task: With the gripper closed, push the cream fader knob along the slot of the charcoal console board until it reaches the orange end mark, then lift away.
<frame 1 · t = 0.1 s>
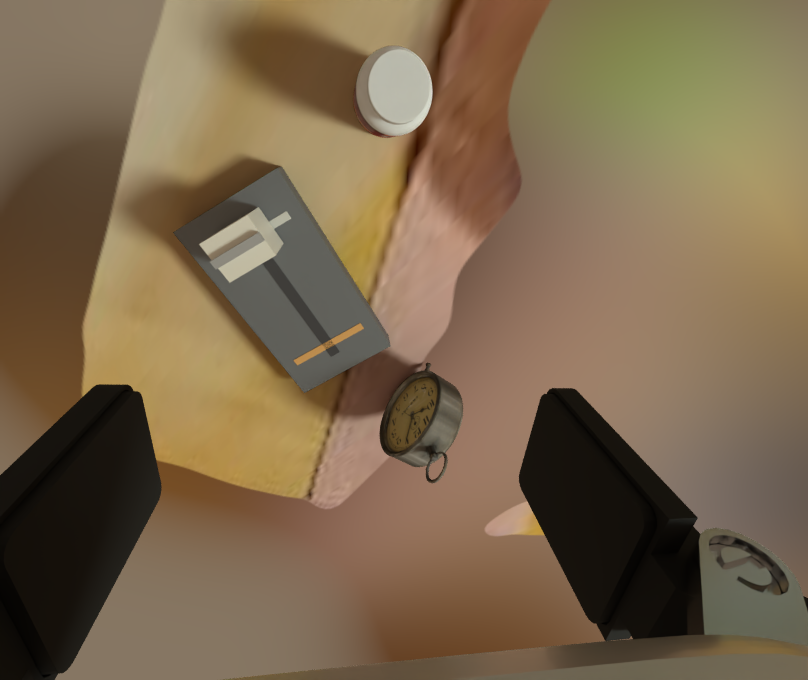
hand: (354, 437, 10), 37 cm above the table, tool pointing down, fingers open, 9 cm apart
fader knob: (243, 244, 37), point 6 cm above the table, slide at 0.0 cm
pill bottle: (385, 102, 39), on the table
alarm clock: (413, 389, 54), on the table
fader console: (295, 286, 46), on the table
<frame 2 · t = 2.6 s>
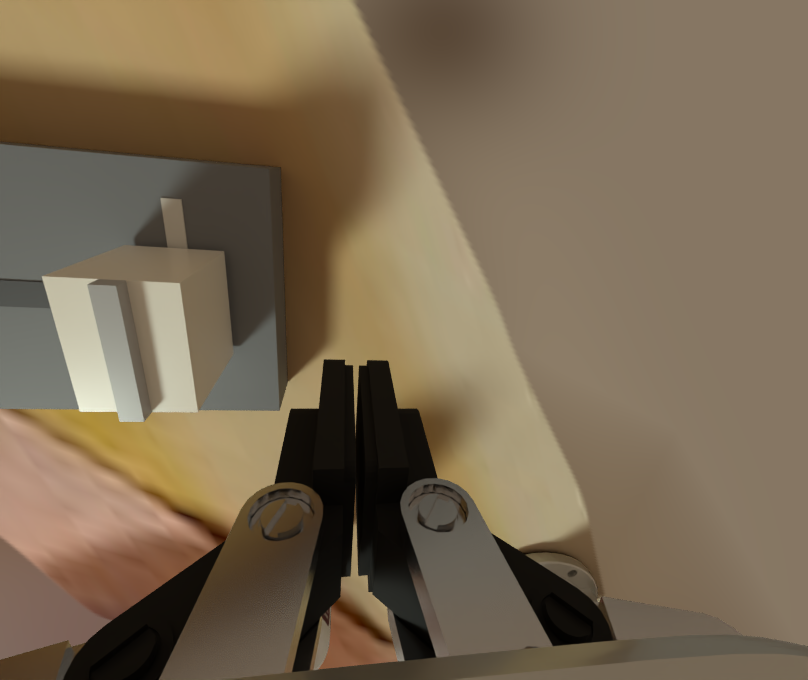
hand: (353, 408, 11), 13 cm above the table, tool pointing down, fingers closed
fader knob: (155, 326, 16), point 6 cm above the table, slide at 0.0 cm
pill bottle: (292, 523, 29), on the table
fader console: (59, 275, 20), on the table
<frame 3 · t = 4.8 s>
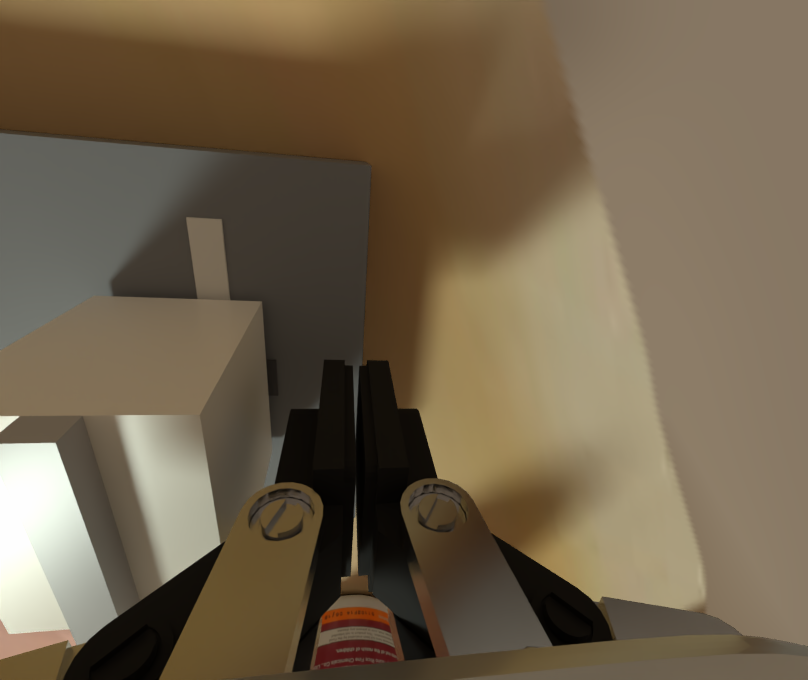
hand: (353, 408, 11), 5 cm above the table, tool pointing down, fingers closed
fader knob: (150, 449, 9), point 6 cm above the table, slide at 0.7 cm, touching gripper
pill bottle: (347, 620, 23), on the table
fader console: (26, 329, 13), on the table
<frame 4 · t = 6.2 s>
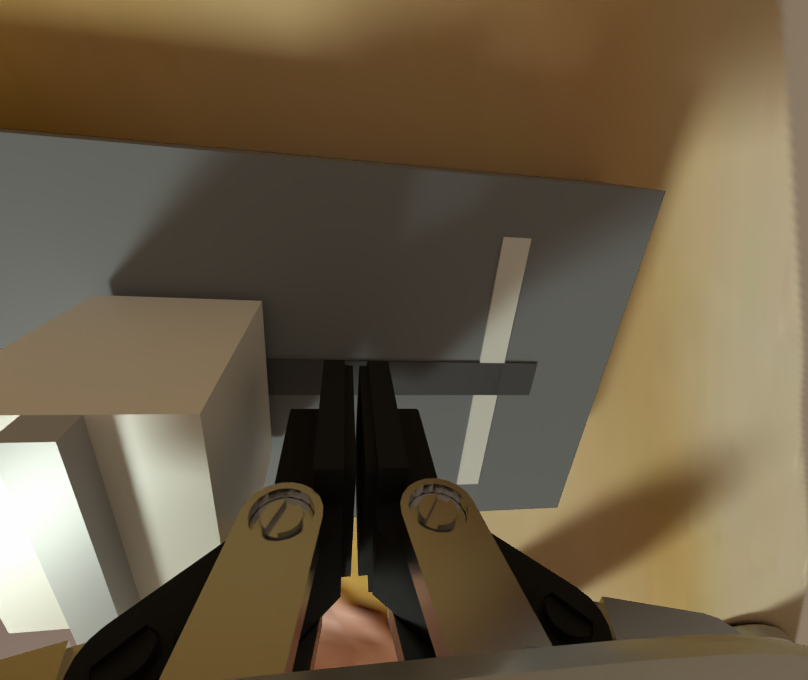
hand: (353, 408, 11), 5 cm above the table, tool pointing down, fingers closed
fader knob: (150, 448, 9), point 6 cm above the table, slide at 8.8 cm, touching gripper
fader console: (277, 334, 14), on the table
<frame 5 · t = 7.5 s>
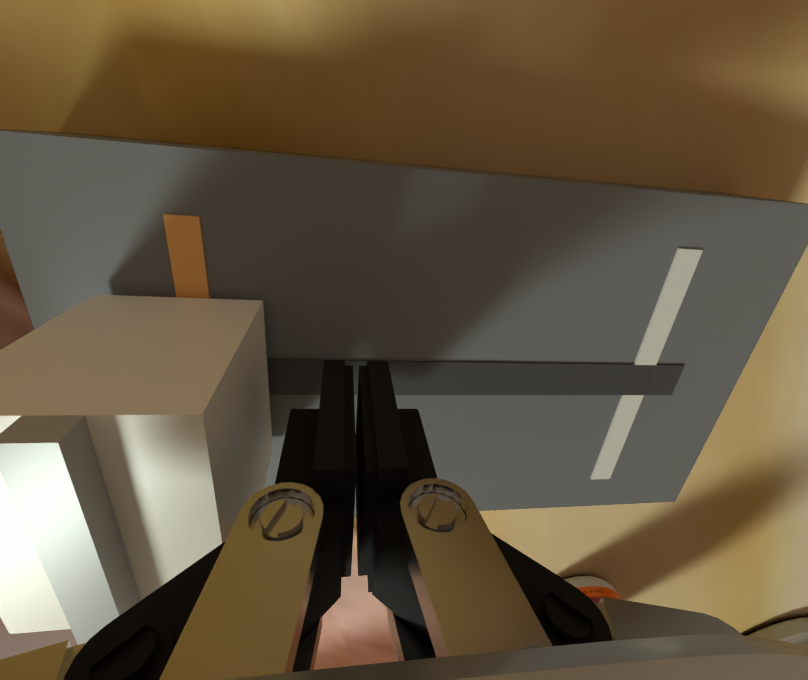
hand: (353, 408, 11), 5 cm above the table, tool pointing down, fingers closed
fader knob: (151, 448, 9), point 6 cm above the table, slide at 14.2 cm, touching gripper
pill bottle: (564, 600, 25), on the table
fader console: (423, 337, 15), on the table
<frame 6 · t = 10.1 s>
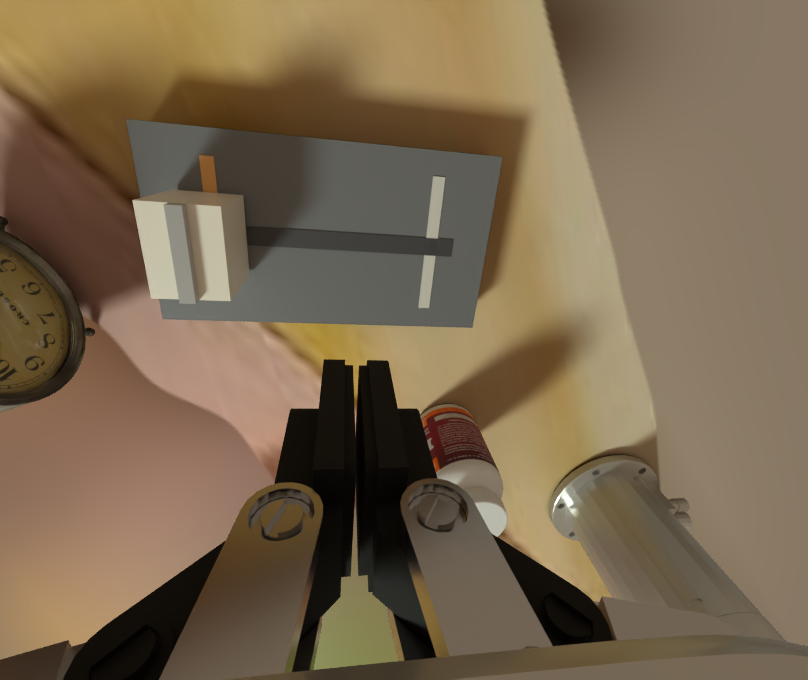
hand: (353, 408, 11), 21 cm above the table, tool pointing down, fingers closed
fader knob: (198, 244, 22), point 6 cm above the table, slide at 14.1 cm
pill bottle: (442, 426, 39), on the table
alarm clock: (40, 284, 28), on the table
fader console: (329, 231, 29), on the table
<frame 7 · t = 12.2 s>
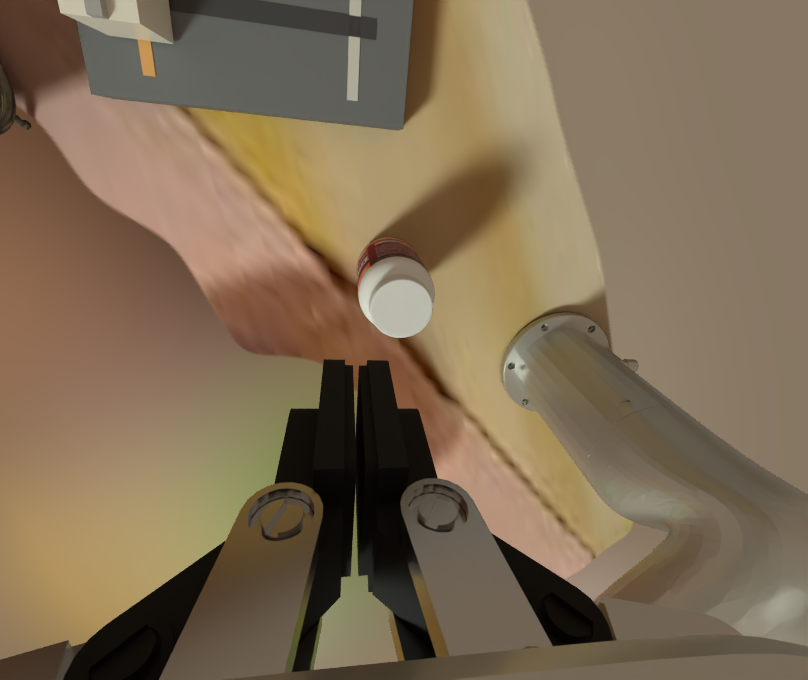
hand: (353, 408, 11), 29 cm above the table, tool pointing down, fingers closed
pill bottle: (387, 267, 39), on the table
fader console: (259, 23, 30), on the table
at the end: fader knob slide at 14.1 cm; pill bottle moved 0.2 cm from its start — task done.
